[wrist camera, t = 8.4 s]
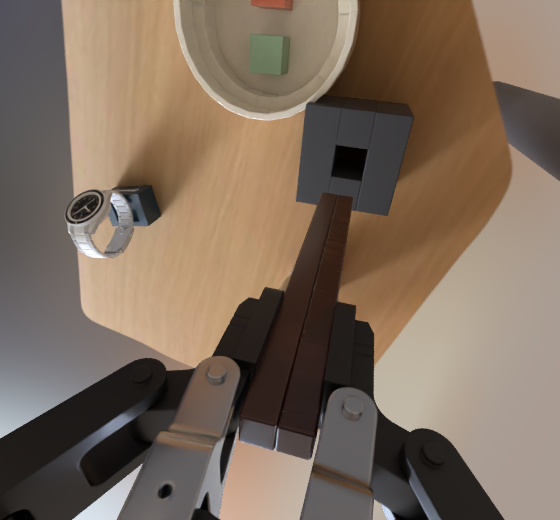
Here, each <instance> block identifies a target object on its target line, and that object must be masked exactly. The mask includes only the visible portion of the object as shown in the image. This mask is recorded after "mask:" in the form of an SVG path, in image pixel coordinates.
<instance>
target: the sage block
mask: <svg viewBox="0 0 560 520" xmlns="http://www.w3.org/2000/svg"><path fill="white" fill-rule="evenodd" d="M289 49H290V37H285V36H273V35H261V34H250V67H249V72H250V73H260V74H270V75H279V76H281V75H284V74H287V73H288V63H289Z"/></svg>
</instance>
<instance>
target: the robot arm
mask: <svg viewBox="0 0 560 520" xmlns="http://www.w3.org/2000/svg"><path fill="white" fill-rule="evenodd" d="M283 298H284V291H282V290H278V289H273V288H268V287H265V288H264V290H263V292H262V294H261V296H260V299H254V298H248V299H246V300H245V301H244V302H242V303H241V304H240V305H239V306H238V308H237V310H236V312H235V314H234V317H233V318H232V319H231V321H230V324H229V325H228V327H227V329H226V331H225V333H224V335H223V336H222V338H221V340H220V342H219V344H218V346H217V348H216V350H215V352H214V353H213V355H212V357H209V358H207V359H205V360H203V361H202V362H201V363H199V364H198V366H197V367H196V368H194V369H189V370H174V371H166V368H165V366H164V364H163V363H162V362H160V361H159V360H156V359H152V358H144V359H138V360H135V361H133V362H131V363H129V364H127V365H126V366H124V367H122V368H121V369H119V370H117V371H116V372H114V373H112V374H110V375H109V376H107V377H105V378H104V379H102V380H100V381H98V382H97V383H95V384H93V385H91V386H90V387H88V388H86V389H85V390H83V391H81V392H79V393H78V394H76V395H74V396H73V397H71V398H69V399H67V400H66V401H64V402H62V403H60V404H59V405H57V406H55V407H54V408H52V409H50V410H48V411H47V412H45V413H43V414H42V415H40V416H38V417H36V418H35V419H33V420H31V421H30V422H28V423H26V424H24V425H23V426H21V427H19V428H18V429H16V430H14V431H12V432H11V433H9V434H7V435H6V436H4V437H2V438H0V520H72V519H73V518H75V517H76V516H77V515H78V514H79V513H80V512H82V511H83V510H85V509H86V508H87V507H88V506H90V505H91V504H92V503H93V502H95V501H96V500H97V499H98V498H100V497H101V496H102V495H103V494H105V493H106V492H107V491H108V490H110V489H111V488H112V487H113V486H115V485H116V484H117V483H118V482H120V481H121V480H122V479H123V478H125V477H126V476H127V475H128V474H130V473H131V472H132V471H133V470H135V469H136V468H137V467H138V466H140V465H141V464H142V463H143V462H144V463H143V465H142V467H141V469H140V471H139V473H138V476H137V478H136V480H135V482H134V484H133V486H132V488H131V490H130V493H129V495H128V497H127V499H126V501H125V503H124V505H123V507H122V510H121V512H120V514H119V516H118V518H117V520H220V519H219V514H220V509H221V501H222V495H223V490H224V485H225V482H226V478H227V474H228V470H229V467H230V463H231V459H232V455H233V452H234V448H235V444H236V440H237V436H238V433H239V413H240V411H241V408H242V405H243V403H244V400H245V397H246V395H247V392H248V389H249V387H250V384H251V381H252V379H253V376H254V375H256V372H257V369H258V366H259V364H260V361H261V358H262V355H263V353H264V350H265V347H266V345H267V342H268V339H269V336H270V334H271V331H272V328H273V326H274V323H275V320H276V317H277V315H278V312H279V309H280V307H281V304H282V301H283ZM355 314H356V306H355V305H351V304H346V303H341V302H336V305H335V310H334V317H333V323H332V329H331V335H330V342H329V348H328V354H327V360H326V366H325V373H324V379H323V385H322V391H321V392H322V393H323V398H322V404H321V411H320V417H319V424H318V429H320V435H319V441H318V446H317V450H316V454H315V458H314V462H313V466H312V471H311V475H310V479H309V483H308V487H307V491H306V495H305V499H304V504H303V508H302V512H301V516H300V520H372V518H373V505H374V499H375V500H376V501H378V502H379V503H381V506H382V509H383V511H384V514H385V516H386V518H387V520H504V519H503V517H502V515H501V514H500V513H499V511H498V510H497V508H496V507H495V505H494V504H493V502H492V501H491V499H490V498H489V496H488V495H487V494H486V492H485V491H484V489H483V488H482V486H481V485H480V483H479V482H478V481H477V479H476V478H475V476H474V475H473V473H472V472H471V471H470V469H469V467H468V466H467V465H466V463H465V462H464V460H463V459H462V457H461V456H460V454H459V453H458V451H457V450H456V448H455V447H454V446H453V445H452V443H451V442H450V441H448V439H446V438H445V437H444V436H442V435H441V434H439V433H437V432H435V431H433V430H430V429H423V428H421V429H415V430H413V431H411V432H409V431H407V430H405V429H403V428H401V427H400V426H398V425H396V424H395V423H393V422H391V421H390V420H389V419H387V418H386V417H385V416H384V415H383V414H382V413H381V412H380V410H379V409H378V407H377V405H376V403H375V400H374V393H373V391H374V333H373V331H372V329H371V327H370V325H369V323H368V322H363V321H358V320H355Z"/></svg>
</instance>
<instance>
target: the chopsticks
mask: <svg viewBox="0 0 560 520" xmlns="http://www.w3.org/2000/svg"><path fill="white" fill-rule="evenodd" d="M352 204H353V197H349V196H343V195H337V194H331V193H324V192H322V194H321V197H320V199H319V202H318V205H317V207H316V210H315V213H314V215H313V218H312V221H311V223H310V226H309V229H308V231H307V234H306V237H305V240H304V242H303V245H302V248H301V250H300V253H299V256H298V258H297V261H296V264H295V266H294V269H293V272H292V274H291V277H290V280H289V282H288V285H287V288H286V290H285V293H284V298H283V301H282V304H281V307H280V309H279V312H278V315H277V317H276V320H275V323H274V326H273V328H272V331H271V334H270V336H269V339H268V342H267V345H266V347H265V350H264V353H263V355H262V358H261V361H260V364H259V366H258V369H257V372H256V375H254V376H253V379H252V381H251V384H250V387H249V389H248V392H247V395H246V397H245V400H244V403H243V405H242V408H241V411H240V413H239V441H241V442H244V443H248V444H251V445H255V446H258V447H262V448H266V449H269V450H274V448H275V450H276V451H278V452H281V453H285V454H288V455H292V456H296V457H299V458H303V459H306V460H310V459H311V457H312V453H313V449H314V445H315V441H316V436H317V430H318V424H319V417H320V411H321V404H322V398H323V393H322V392H321V391H322V385H323V379H324V373H325V366H326V360H327V354H328V348H329V342H330V335H331V329H332V323H333V317H334V310H335V305H336V302H337V301H338V294H339V288H340V281H341V275H342V269H343V262H344V256H345V249H346V243H347V236H348V230H349V223H350V217H351V210H352Z"/></svg>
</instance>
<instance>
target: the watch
mask: <svg viewBox="0 0 560 520" xmlns="http://www.w3.org/2000/svg"><path fill="white" fill-rule="evenodd" d="M107 216H109V218H110V221H111V223H112V226H118V228H116V230H115V233H114V235H113V237H112V239H111V241H110V243H109V244H108V246H107V249H106V250H105V253H102V252H101V251H99V250H98V248H97V247H96V246H95V244H94V242H93V240H91V239H92V238H91V234H94V233H95V231H96V229H97V227H98V225H99V224H101V223H102V221H103V220H105V219H106V217H107ZM159 217H161V214H160V211H159V208H158V205H157V202H156V199H155V195H154V192H153V189H152V186H131V187H115V188H113V189H112V190H102V191H100V190H95V189H93V190H88V191H85V192H83V193H81V194H79V195H78V196H76V197H75V198H74V199H73V200H72V201H71V202H70V203H69V205H68V206H67V209H66V211H65V219H66V221H67V223H68V232H69V233H70V234H71V237H72V239H73V240H74V241H73V242H74V243H75V245H76V246H77V247H78V249H79V250H80V251H81V252H82V253H84V254H85V255H87V256H90V257H93V258H114V257H117V256H118V255H119V254H121V253H123V252H124V251H125V249H126V248H127V246H128V244H129V242H130V240H131V238H132V235H133V232H134V228H133V226H149V225H150V224H152V223H153V222H154V221H156V220H157V219H158V218H159Z"/></svg>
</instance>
